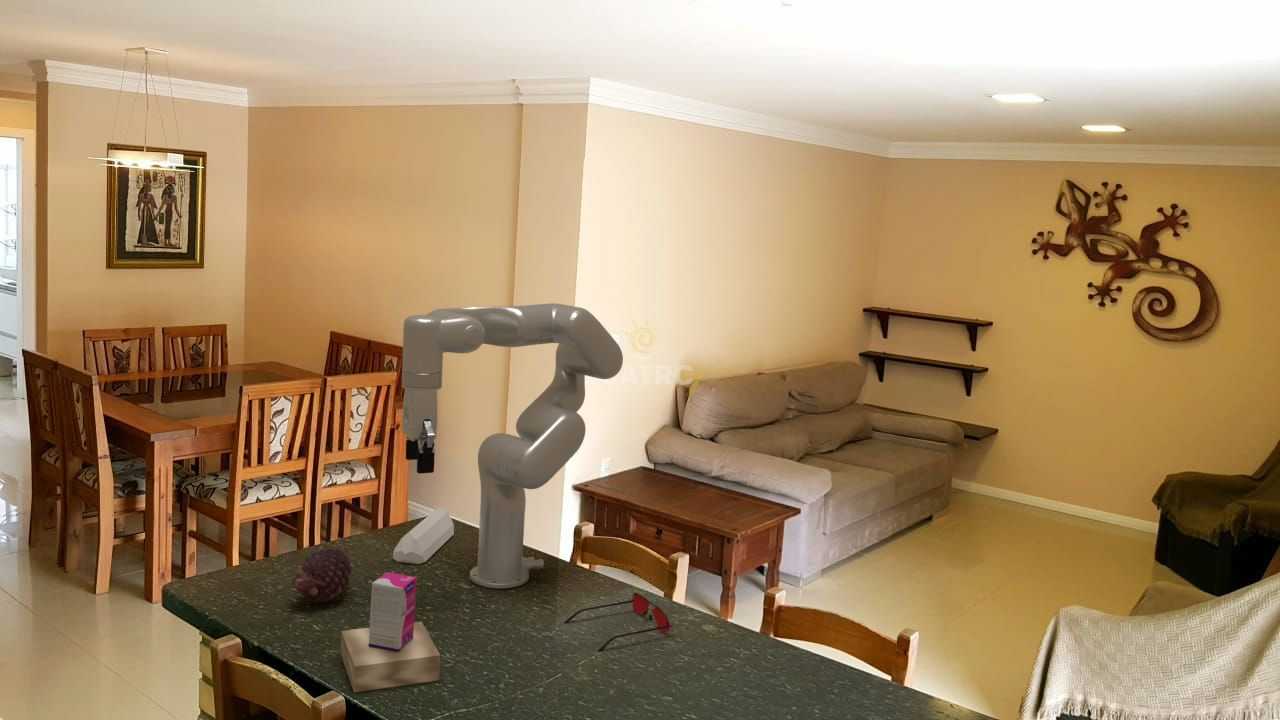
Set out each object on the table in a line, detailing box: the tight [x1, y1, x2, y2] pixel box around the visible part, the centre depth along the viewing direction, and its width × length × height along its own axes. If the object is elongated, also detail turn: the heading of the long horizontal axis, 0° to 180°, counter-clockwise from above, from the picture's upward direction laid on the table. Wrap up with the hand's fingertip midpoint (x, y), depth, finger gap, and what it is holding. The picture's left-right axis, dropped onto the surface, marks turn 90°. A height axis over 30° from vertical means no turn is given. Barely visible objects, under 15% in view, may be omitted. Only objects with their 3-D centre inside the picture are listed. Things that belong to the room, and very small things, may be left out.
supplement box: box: [368, 571, 418, 652], centre depth 170 cm, size 6×6×12 cm
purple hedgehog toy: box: [291, 547, 352, 604], centre depth 197 cm, size 18×10×10 cm, turn 169°
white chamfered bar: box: [392, 506, 455, 565], centre depth 229 cm, size 7×7×24 cm
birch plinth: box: [340, 621, 441, 693], centre depth 171 cm, size 14×14×4 cm
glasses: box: [563, 591, 674, 653], centre depth 192 cm, size 14×16×5 cm
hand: (419, 465), depth 194 cm, fingers open, 9 cm apart
